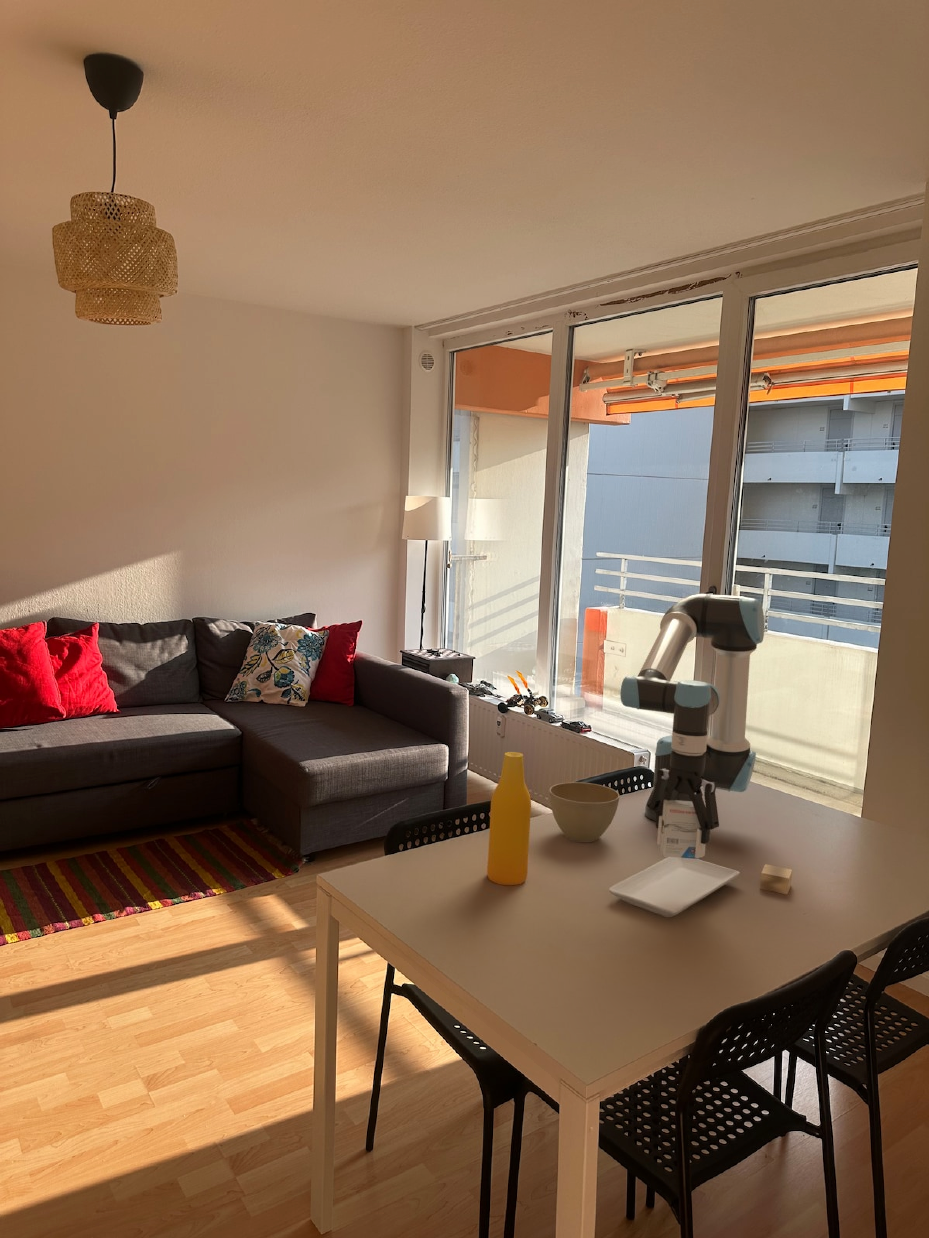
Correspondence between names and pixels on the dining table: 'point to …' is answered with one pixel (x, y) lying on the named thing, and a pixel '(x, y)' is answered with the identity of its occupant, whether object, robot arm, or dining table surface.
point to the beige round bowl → (583, 809)
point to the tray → (673, 884)
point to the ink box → (679, 829)
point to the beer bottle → (509, 824)
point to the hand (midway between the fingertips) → (680, 849)
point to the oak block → (776, 879)
